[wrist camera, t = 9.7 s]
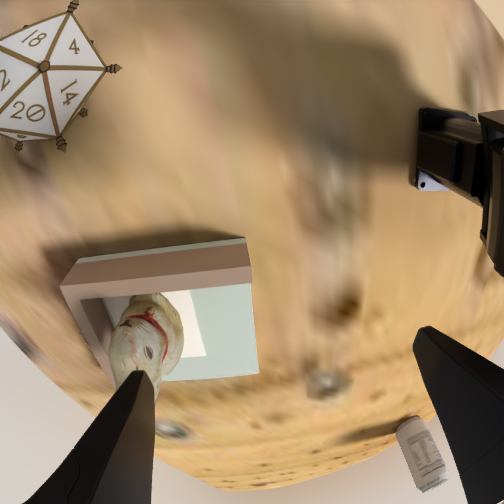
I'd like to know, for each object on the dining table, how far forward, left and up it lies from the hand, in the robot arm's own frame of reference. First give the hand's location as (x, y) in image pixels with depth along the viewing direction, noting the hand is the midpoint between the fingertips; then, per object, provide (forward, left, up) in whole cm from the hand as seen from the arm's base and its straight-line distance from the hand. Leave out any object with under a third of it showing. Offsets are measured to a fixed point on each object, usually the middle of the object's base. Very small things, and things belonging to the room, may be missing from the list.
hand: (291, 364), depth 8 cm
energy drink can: (-26, +43, -13) cm, 52 cm away
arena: (+7, +9, -13) cm, 17 cm away
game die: (+11, -11, -13) cm, 20 cm away
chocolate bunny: (+8, +8, -12) cm, 17 cm away
